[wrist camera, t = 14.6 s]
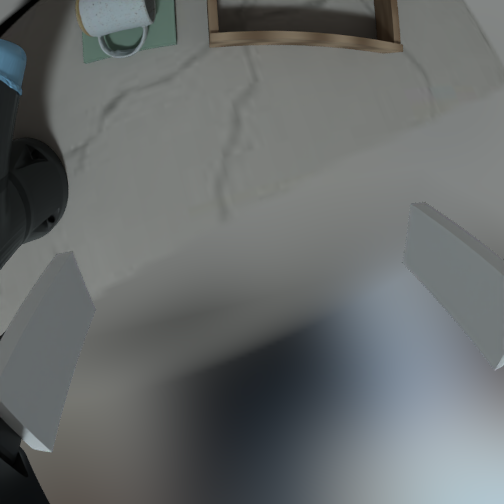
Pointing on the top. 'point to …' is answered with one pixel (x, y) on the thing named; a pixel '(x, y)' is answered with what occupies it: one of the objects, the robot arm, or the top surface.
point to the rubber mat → (136, 35)
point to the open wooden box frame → (384, 24)
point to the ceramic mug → (115, 20)
